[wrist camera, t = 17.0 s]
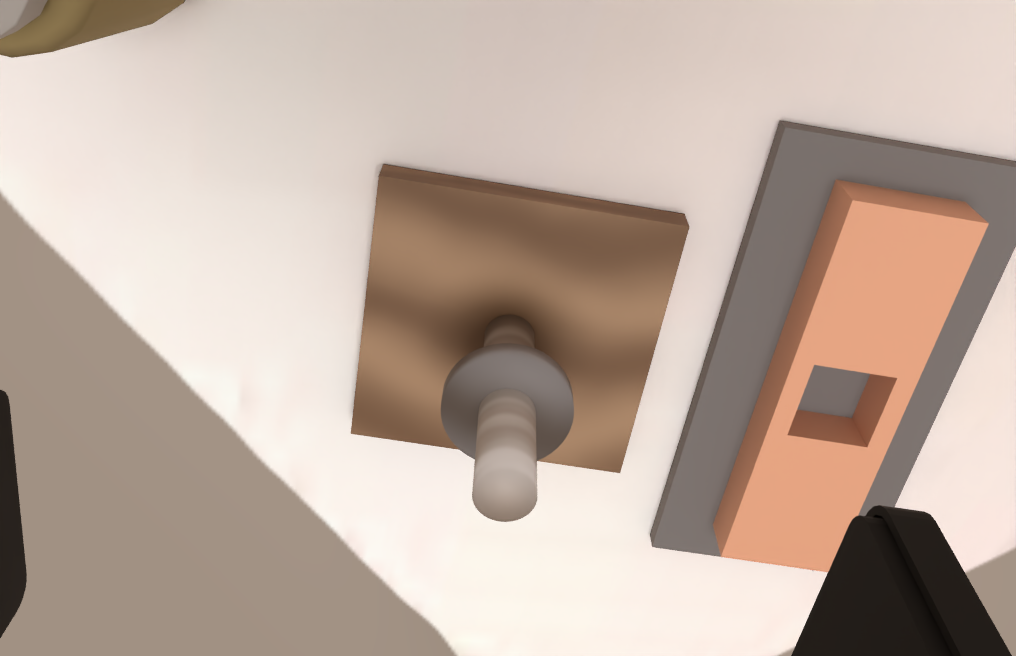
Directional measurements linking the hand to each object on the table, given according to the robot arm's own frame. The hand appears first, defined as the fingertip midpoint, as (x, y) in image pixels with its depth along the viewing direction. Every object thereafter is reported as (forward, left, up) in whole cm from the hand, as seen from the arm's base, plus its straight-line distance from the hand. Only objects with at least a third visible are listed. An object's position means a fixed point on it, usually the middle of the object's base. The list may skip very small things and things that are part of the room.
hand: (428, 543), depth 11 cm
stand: (+15, +3, -33) cm, 37 cm away
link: (+15, +19, -32) cm, 40 cm away
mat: (+15, +19, -33) cm, 41 cm away
